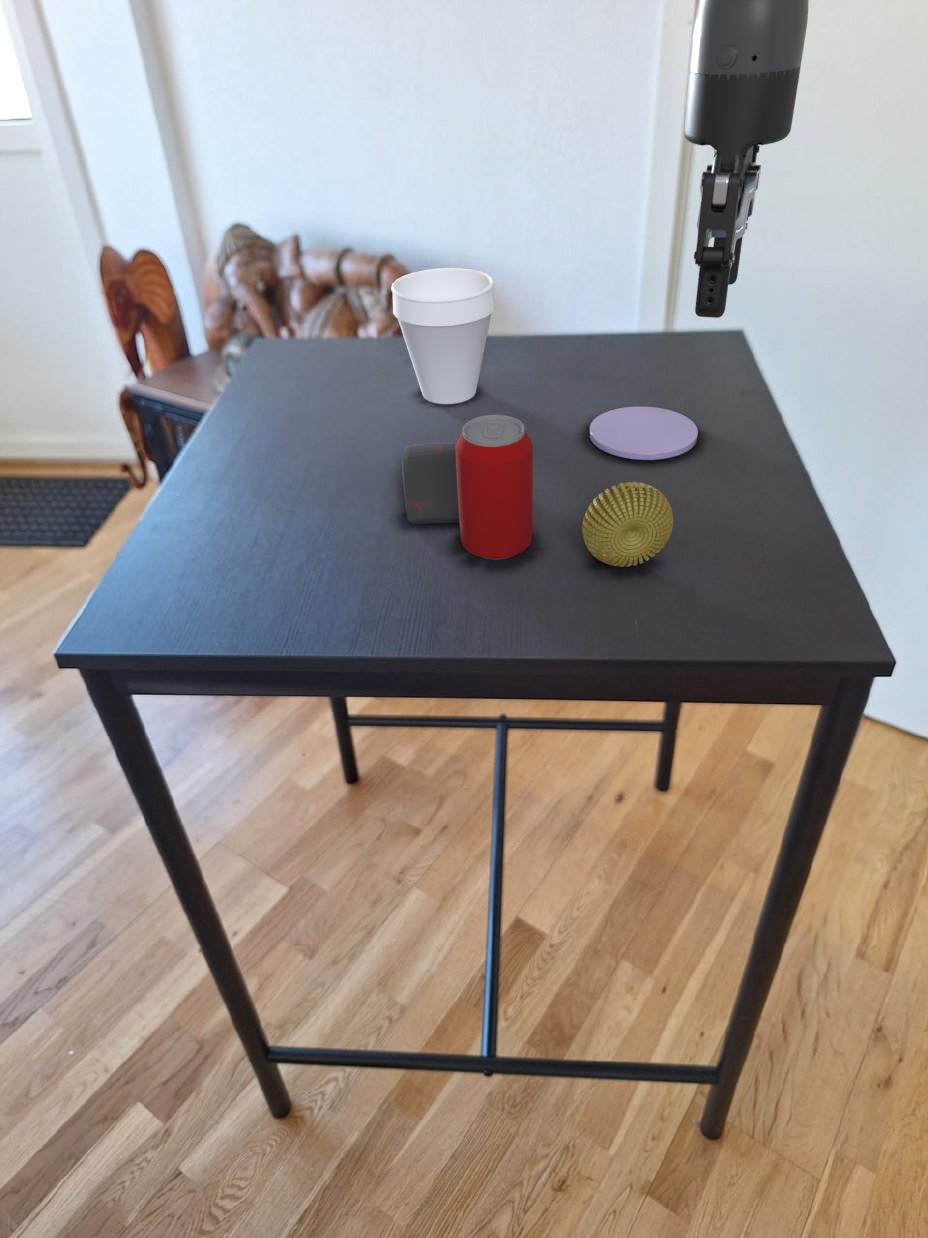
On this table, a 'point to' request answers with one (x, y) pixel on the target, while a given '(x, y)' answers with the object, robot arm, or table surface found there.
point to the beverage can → (495, 486)
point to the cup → (445, 328)
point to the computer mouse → (430, 483)
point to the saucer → (643, 433)
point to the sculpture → (627, 524)
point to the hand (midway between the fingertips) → (716, 298)
